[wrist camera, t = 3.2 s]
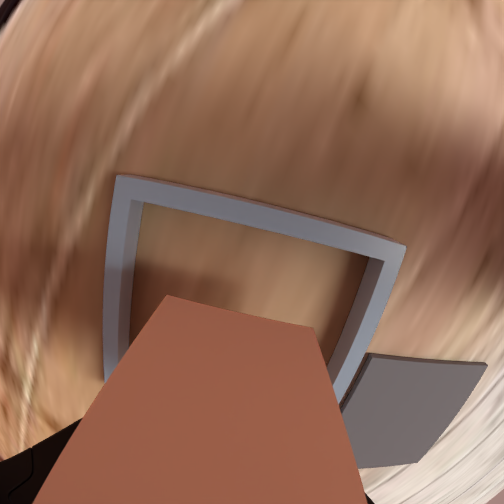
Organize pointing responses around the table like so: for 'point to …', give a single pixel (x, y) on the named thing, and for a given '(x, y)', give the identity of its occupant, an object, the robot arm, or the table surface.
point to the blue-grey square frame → (255, 215)
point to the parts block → (211, 419)
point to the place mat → (404, 406)
